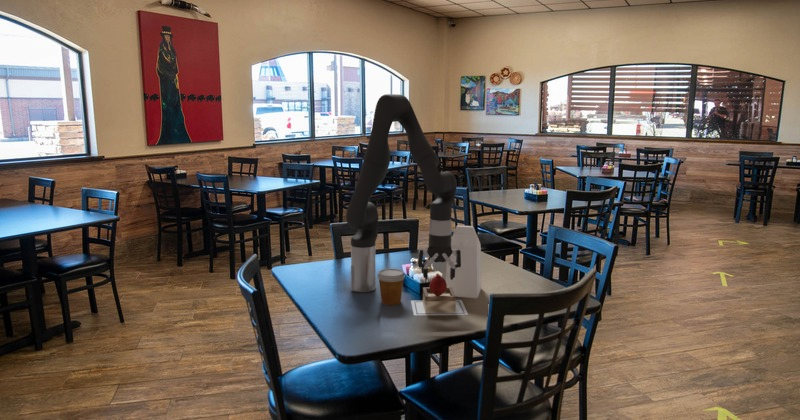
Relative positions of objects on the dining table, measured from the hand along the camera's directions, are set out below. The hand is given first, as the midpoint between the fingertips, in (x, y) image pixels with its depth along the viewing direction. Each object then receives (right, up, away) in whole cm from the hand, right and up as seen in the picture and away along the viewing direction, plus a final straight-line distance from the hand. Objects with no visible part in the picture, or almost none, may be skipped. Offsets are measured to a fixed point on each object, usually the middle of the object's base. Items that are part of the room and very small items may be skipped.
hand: (438, 278), depth 186 cm
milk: (+10, -8, +18) cm, 23 cm away
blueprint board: (0, -11, +2) cm, 11 cm away
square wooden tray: (0, -10, +2) cm, 10 cm away
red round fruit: (0, -6, +1) cm, 6 cm away
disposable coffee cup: (-16, -10, +7) cm, 20 cm away
